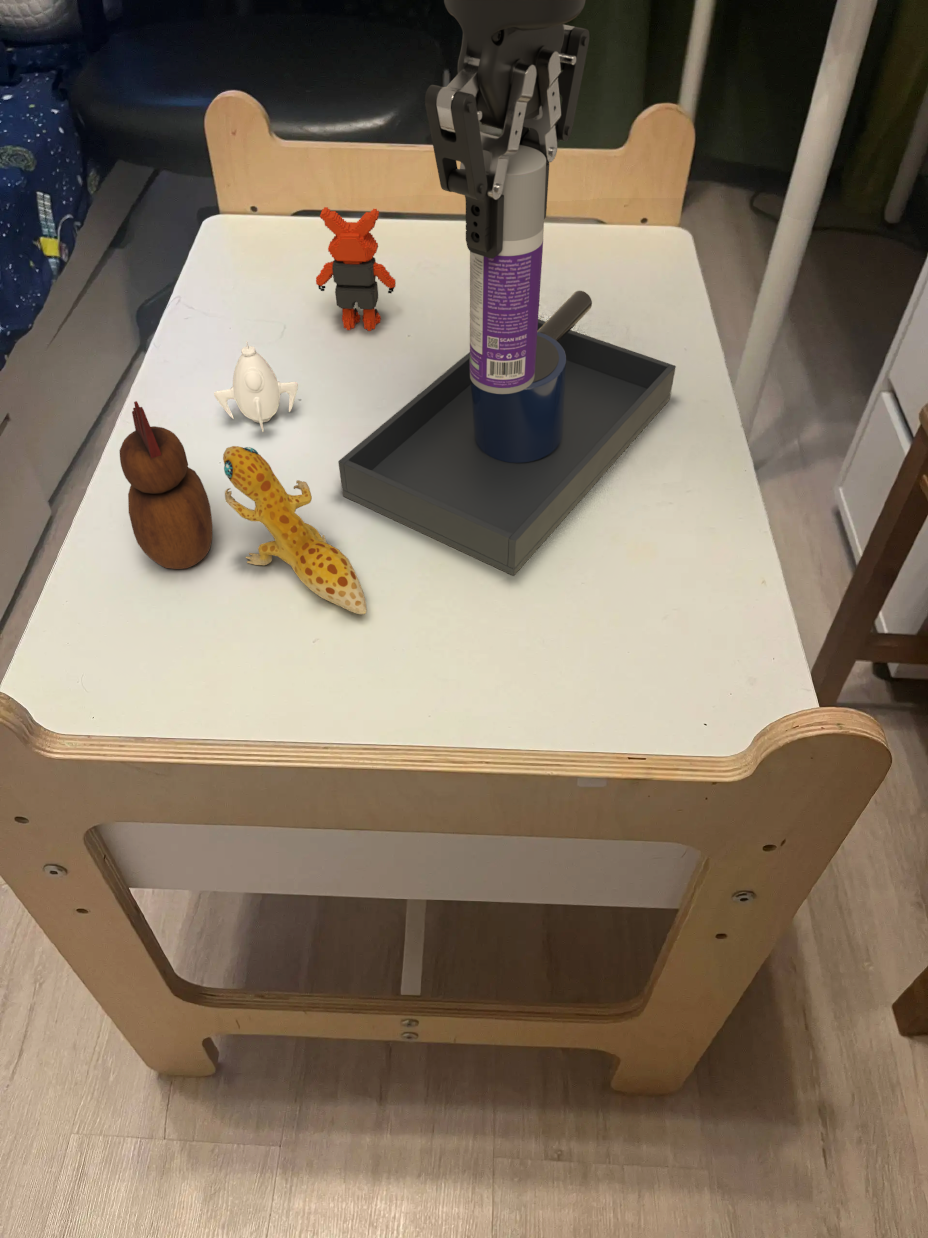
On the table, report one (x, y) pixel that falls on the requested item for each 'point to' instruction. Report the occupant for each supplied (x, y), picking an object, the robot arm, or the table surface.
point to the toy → (290, 530)
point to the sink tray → (496, 490)
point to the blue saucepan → (530, 397)
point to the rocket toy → (255, 388)
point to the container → (510, 282)
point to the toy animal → (354, 268)
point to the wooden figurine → (165, 496)
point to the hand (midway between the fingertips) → (506, 235)
